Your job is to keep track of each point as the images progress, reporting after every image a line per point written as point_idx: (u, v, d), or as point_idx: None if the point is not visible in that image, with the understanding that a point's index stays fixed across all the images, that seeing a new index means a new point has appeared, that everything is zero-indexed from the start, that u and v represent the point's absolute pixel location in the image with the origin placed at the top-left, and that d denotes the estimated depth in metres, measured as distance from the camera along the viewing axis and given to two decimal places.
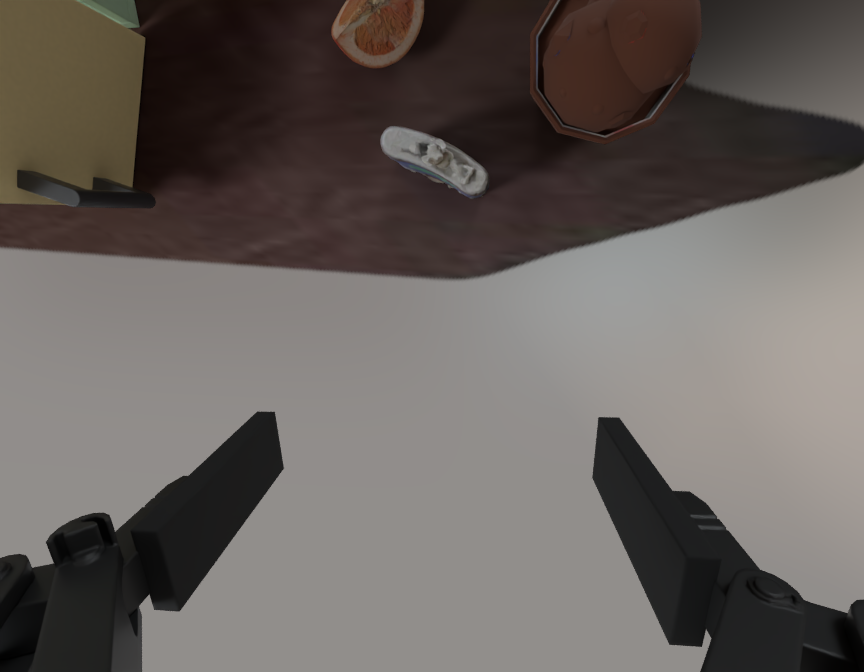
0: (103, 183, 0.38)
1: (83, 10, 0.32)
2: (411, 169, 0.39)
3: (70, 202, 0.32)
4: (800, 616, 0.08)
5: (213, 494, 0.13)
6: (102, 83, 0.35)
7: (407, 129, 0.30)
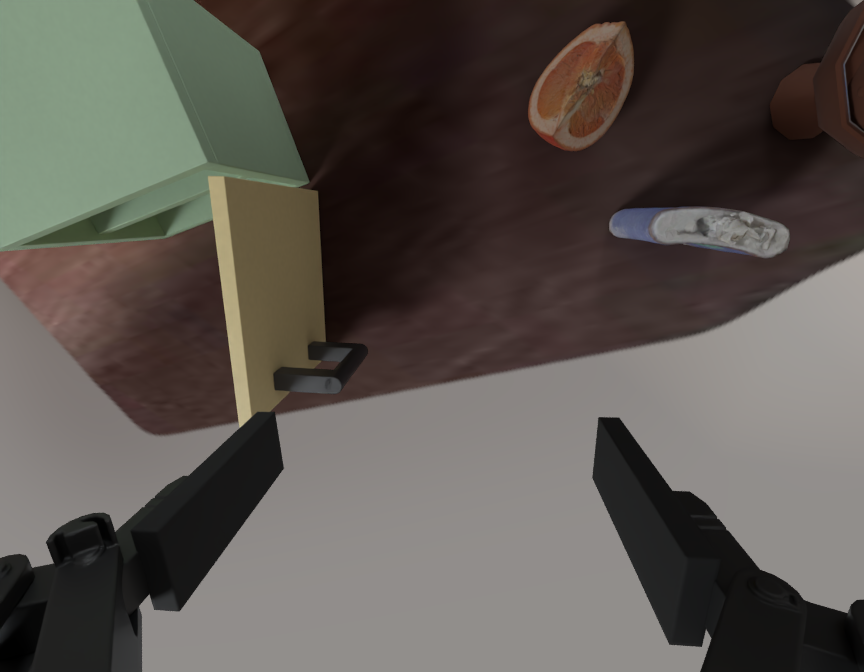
0: (319, 349, 0.36)
1: (288, 192, 0.31)
2: None
3: (332, 390, 0.30)
4: (800, 616, 0.08)
5: (213, 494, 0.13)
6: (303, 252, 0.34)
7: (683, 209, 0.26)
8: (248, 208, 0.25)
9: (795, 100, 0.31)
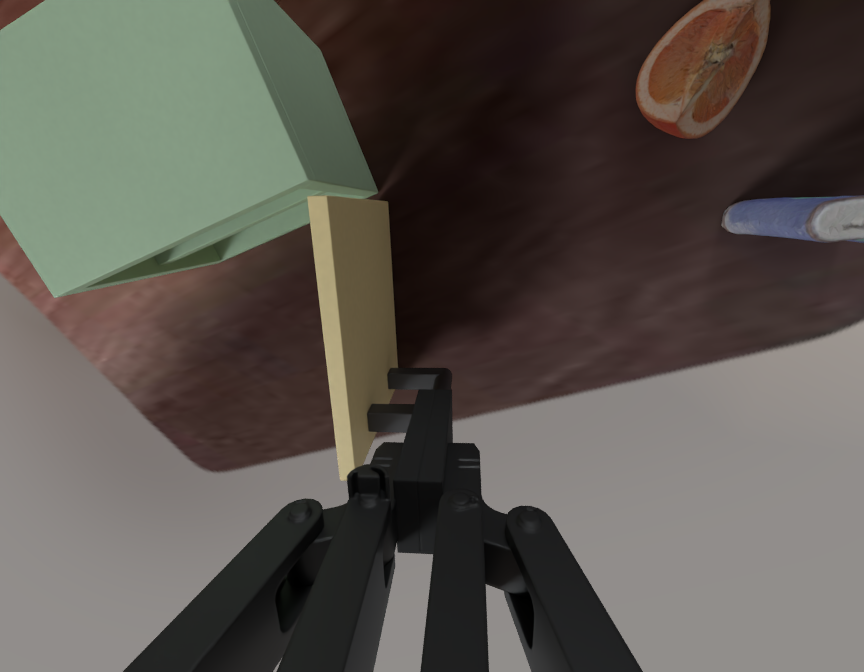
0: (400, 376, 0.32)
1: (369, 206, 0.27)
2: None
3: None
4: (479, 508, 0.11)
5: None
6: (381, 272, 0.30)
7: (853, 200, 0.22)
8: (345, 229, 0.22)
9: None
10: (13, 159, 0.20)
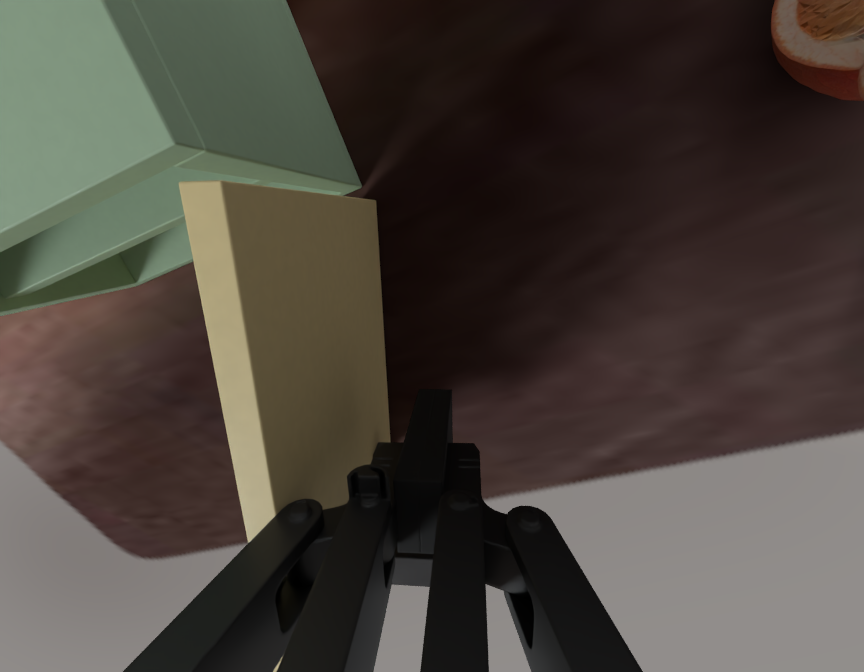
0: None
1: (342, 206, 0.16)
2: None
3: None
4: (479, 508, 0.11)
5: None
6: (363, 307, 0.20)
7: None
8: (281, 251, 0.11)
9: None
10: None
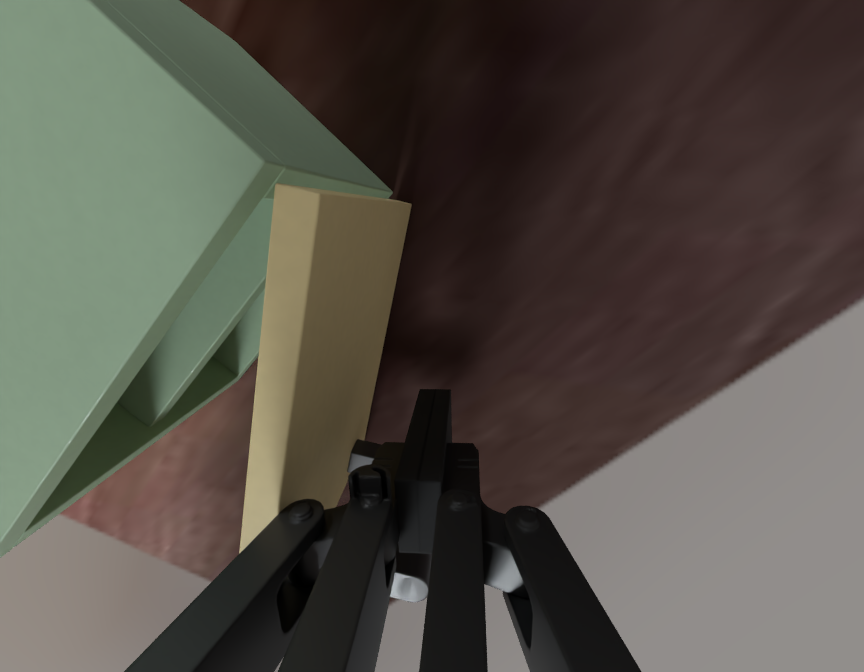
0: (368, 460, 0.22)
1: (389, 212, 0.16)
2: None
3: (408, 596, 0.16)
4: (477, 508, 0.11)
5: None
6: (379, 309, 0.20)
7: None
8: (341, 260, 0.11)
9: None
10: None
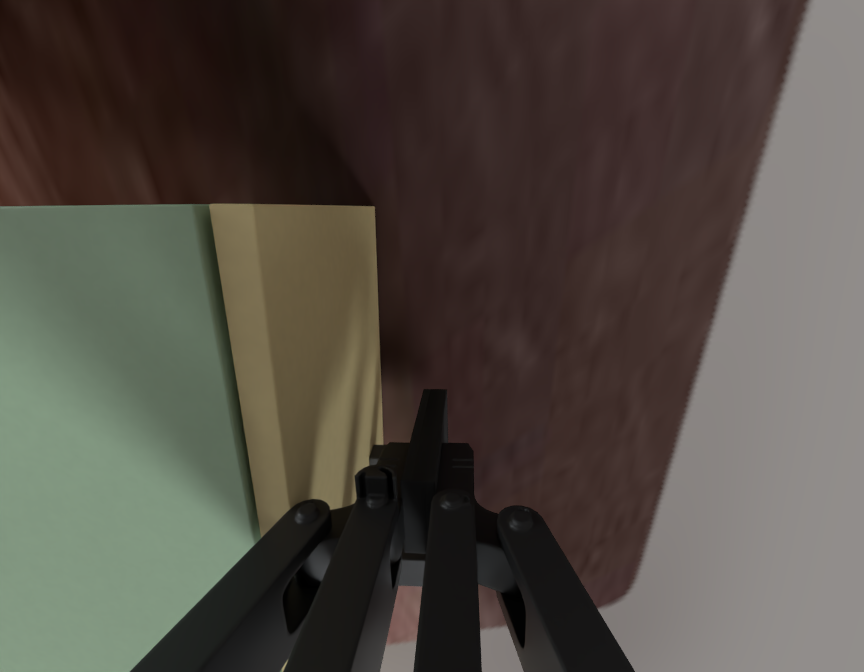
0: None
1: (347, 216, 0.17)
2: None
3: None
4: (471, 508, 0.11)
5: None
6: (363, 314, 0.20)
7: None
8: (298, 267, 0.11)
9: None
10: (78, 642, 0.13)
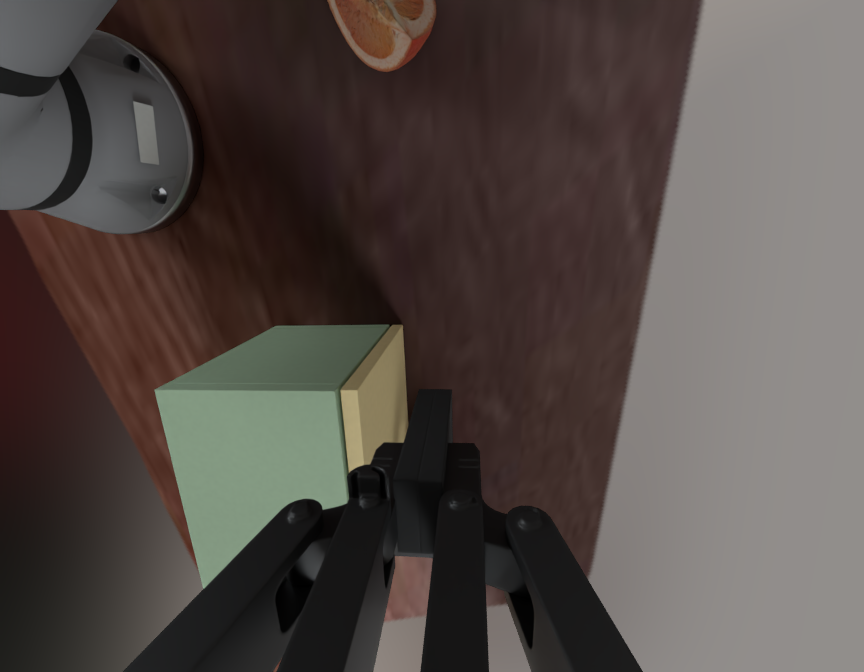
0: None
1: (388, 351, 0.30)
2: None
3: None
4: (479, 508, 0.11)
5: None
6: (397, 396, 0.34)
7: None
8: (369, 400, 0.25)
9: None
10: None
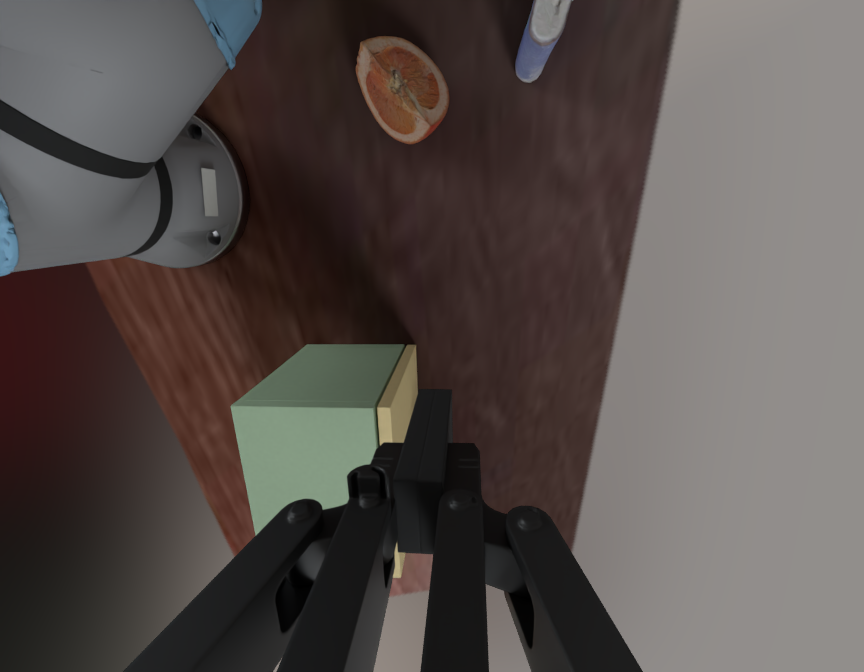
0: None
1: (407, 370, 0.37)
2: None
3: None
4: (479, 508, 0.11)
5: None
6: (412, 406, 0.41)
7: (535, 5, 0.26)
8: (396, 413, 0.32)
9: None
10: None
